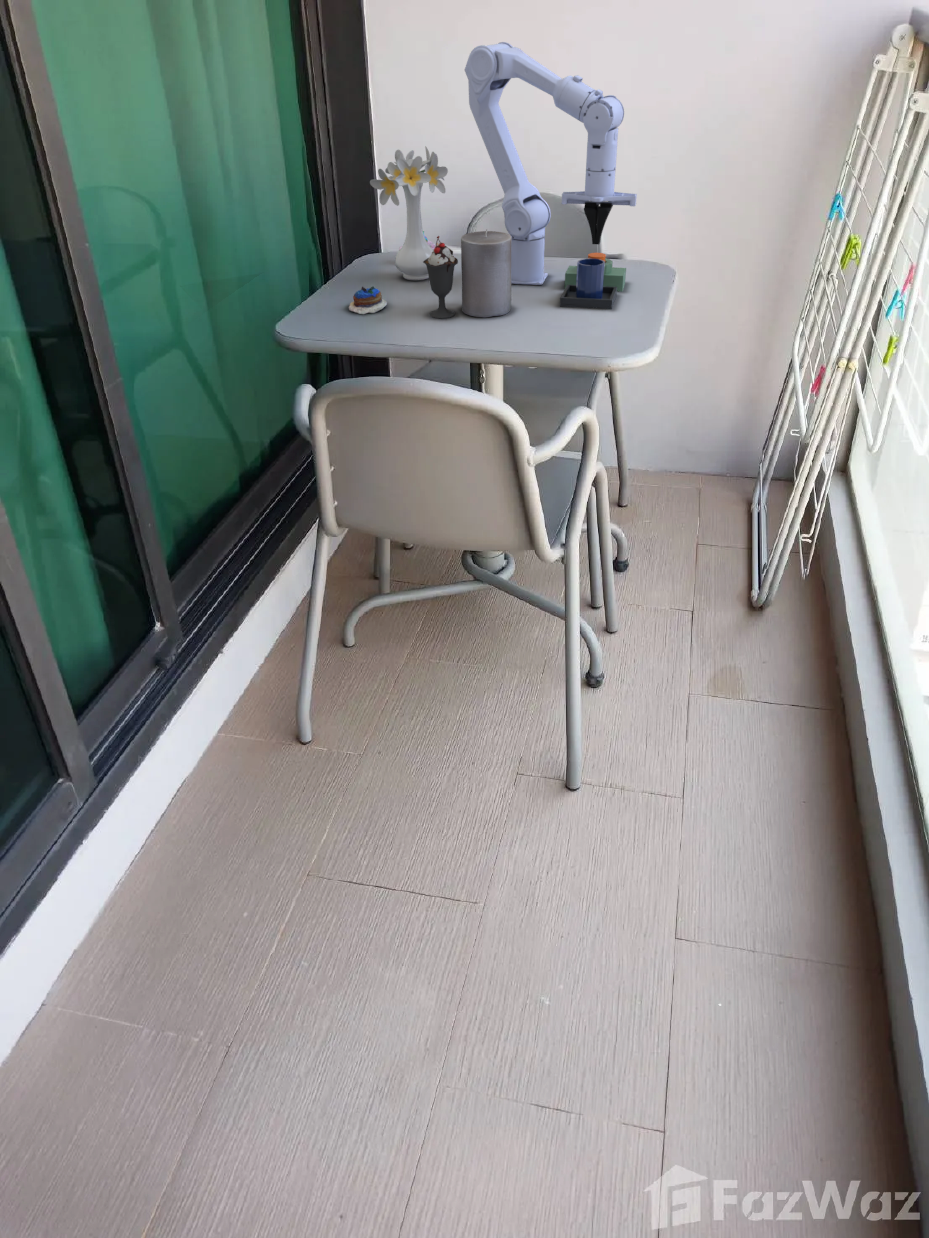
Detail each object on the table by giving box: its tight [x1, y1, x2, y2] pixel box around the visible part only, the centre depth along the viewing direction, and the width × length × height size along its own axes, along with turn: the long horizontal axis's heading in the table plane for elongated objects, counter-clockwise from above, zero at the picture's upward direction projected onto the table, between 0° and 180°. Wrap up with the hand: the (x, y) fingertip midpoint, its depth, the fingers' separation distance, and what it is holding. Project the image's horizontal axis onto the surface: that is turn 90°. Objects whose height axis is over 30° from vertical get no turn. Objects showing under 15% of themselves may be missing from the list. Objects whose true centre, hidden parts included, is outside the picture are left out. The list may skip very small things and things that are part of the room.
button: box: [587, 252, 607, 262], centre depth 186 cm, size 4×4×2 cm
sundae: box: [423, 235, 459, 319], centre depth 172 cm, size 7×7×15 cm
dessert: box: [348, 285, 388, 315], centre depth 180 cm, size 8×7×6 cm
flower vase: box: [369, 145, 449, 281], centre depth 190 cm, size 13×18×25 cm
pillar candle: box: [460, 229, 512, 318], centre depth 173 cm, size 10×10×15 cm
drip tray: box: [559, 285, 618, 310], centre depth 180 cm, size 10×9×2 cm
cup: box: [576, 258, 605, 299], centre depth 178 cm, size 5×5×7 cm
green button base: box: [564, 257, 627, 293], centre depth 188 cm, size 12×6×5 cm, turn 76°
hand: (596, 243), depth 182 cm, fingers closed
